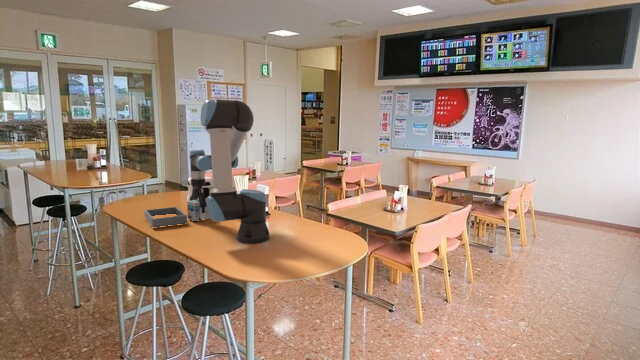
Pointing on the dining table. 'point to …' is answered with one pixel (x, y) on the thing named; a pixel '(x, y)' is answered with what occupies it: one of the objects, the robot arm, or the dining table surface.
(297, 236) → the dining table surface
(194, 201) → the light bulb box
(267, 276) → the dining table surface
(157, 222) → the grey bin
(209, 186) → the milk container
